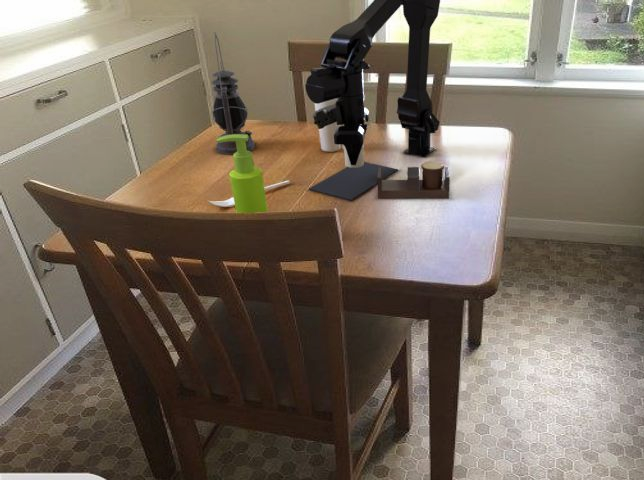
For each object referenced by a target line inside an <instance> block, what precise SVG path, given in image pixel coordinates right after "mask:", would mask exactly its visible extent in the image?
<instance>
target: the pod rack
mask: <svg viewBox="0 0 644 480" xmlns="http://www.w3.org/2000/svg"><path fill="white" fill-rule="evenodd" d="M406 172H407V176H406V179H385V180H382V167H379V169H378V176H377V185H376V186H377V199H378V200H382V199H383V200H392V199H393V200H400V199H401V200H405V199H406V200H409V199H411V200H414V199H415V200H416V199H417V200H418V199H419V200H427V199H428V200H429V199H431V200H434V199H435V200H440V199H441V200H444V199H446V200H447V199H450V181H451V176H450V169H449V167H448V166H444V179H442V186H441V187H440V188H436V189H429V188H425V187H423V185H422V179H420V167H419V166H408V167H407V171H406Z"/></svg>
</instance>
